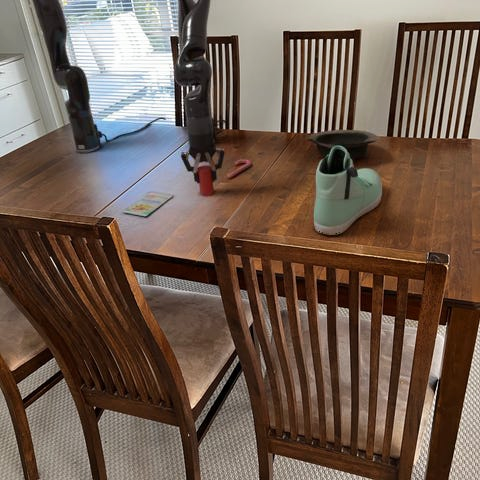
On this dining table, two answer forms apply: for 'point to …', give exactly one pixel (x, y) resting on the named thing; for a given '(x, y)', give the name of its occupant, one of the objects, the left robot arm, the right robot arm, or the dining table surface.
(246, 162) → the candy cane
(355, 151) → the stone bowl
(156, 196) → the baking ingredient package
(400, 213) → the dining table surface
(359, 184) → the sneaker
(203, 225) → the dining table surface
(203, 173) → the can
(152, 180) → the dining table surface
